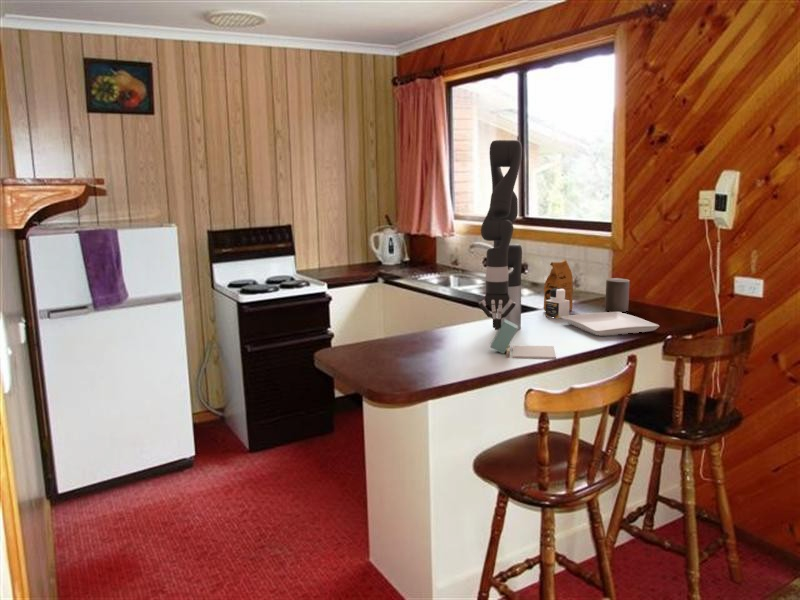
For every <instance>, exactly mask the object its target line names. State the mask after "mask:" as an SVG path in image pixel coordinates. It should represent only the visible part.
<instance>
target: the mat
mask: <svg viewBox="0 0 800 600" xmlns="http://www.w3.org/2000/svg"><path fill="white" fill-rule="evenodd" d="M512 358H513V359H545V358H552V359H551V360H553V359H555V360H556V359H557V355H556V351H555V347H554V345H519V344H517V345H515V344H514V345H512Z"/></svg>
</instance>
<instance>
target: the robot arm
mask: <svg viewBox="0 0 800 600" xmlns="http://www.w3.org/2000/svg"><path fill="white" fill-rule="evenodd" d="M522 146H523V145H522V143H521V141H520V140H516V139H514V140H513V139H499V140H497V139H496V140H492V142H490V145H489V163H490V164H489V165H490V173H491V184H492V185H491V187H492V189H491V196H490V203H489V208H488V211H487V213H486V216H485V217H484V219H483V221H482V224H481V227H480V234H481V238H483V240H484V241H487V242H493V247H491V248H488V249H487V251H486V269H485V296H484V298H483V300H481V301H479V302H478V307H479V308H480V309H481V310H482V311H483V312H484V314H485V315H486V317H488V318H491V319H492V328H493V329H494V330H495V331H496V330H497V331H498V330H499V328H501V324H502V323H503V321H504V319H506V320H508V321H510V322H512V323H514V324H516V325H518V329H517V331H518V330H520V329H521V328H522V324H521V323H522V322H521V321H522V263H523V262H522V261H523V249H522V245H521V244H519V243H511V240H512V237H513V234H514V223H515V221H516V219H517V218H518V215H519V209H518V207H519V204H518V203H519V202H518V200H519V199H518V196H517V195H516V193H515V191H514V189H515V185H516V182H517V178H518V175H519V171H520V167H521V163H522V157H523V147H522ZM501 168H508V171H507V172H506V173H505V175H504V174H503V171H502V169H501ZM511 268H512V271H510V272H509V269H511ZM486 306H489V308H490V309H491V311H490V310H489V309H488V307H486Z"/></svg>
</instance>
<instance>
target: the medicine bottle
mask: <svg viewBox="0 0 800 600" xmlns="http://www.w3.org/2000/svg"><path fill="white" fill-rule="evenodd" d="M550 298H551V299H550V300H546V312H545V317H546V316H548V317H547V318H550V317H554V318H553V319H555V318H561V316H570V311H569V303H570V301H569V300H565V290H564V289H562V288H553V289H551V290H550ZM561 319H562V318H561Z"/></svg>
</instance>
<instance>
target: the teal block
mask: <svg viewBox="0 0 800 600" xmlns="http://www.w3.org/2000/svg"><path fill="white" fill-rule="evenodd" d="M517 329H518V325H516V324H514V323H512V322H510V321H508V320H506V319H504V321H503V323H502V324H501V328H499V330H497V332H496V334H495V335H494V338H492V339H493V340H491V342H490V348H491V349H493V350H495V351H497V352H499V353H501V354H503V355H504V354H505V353H506V352H507V347H508V346H509V344H510V345H511V342H512V340H513V338H514V337H515V335H516V333H517V331H518V330H519V329H518V330H517Z"/></svg>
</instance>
